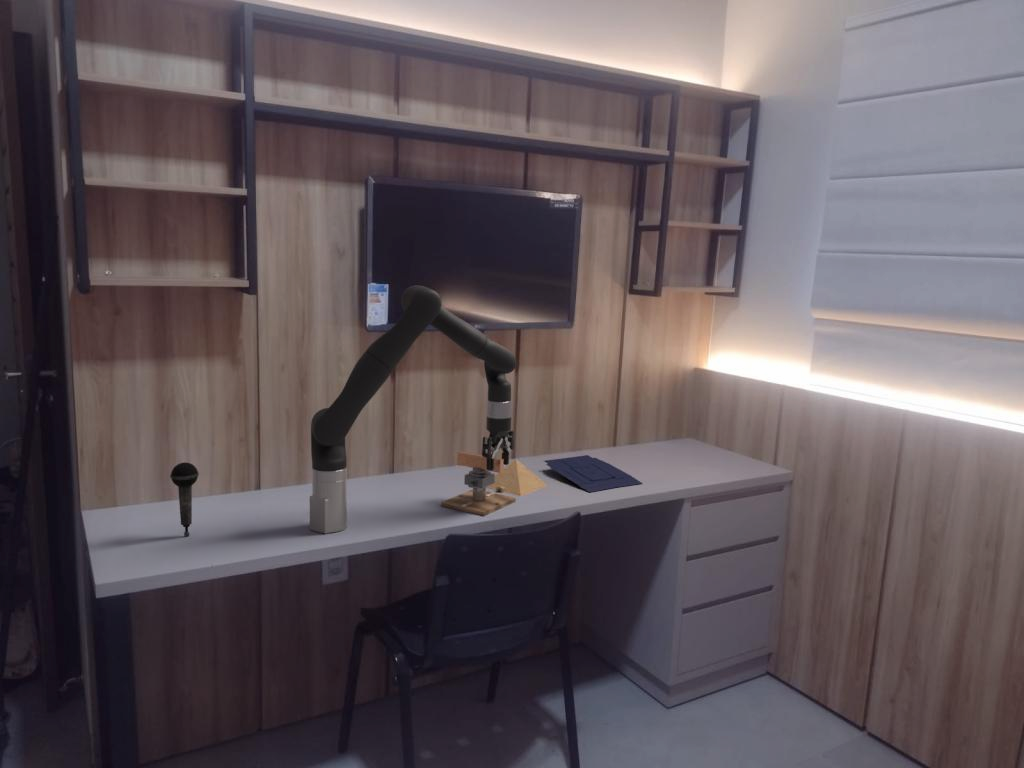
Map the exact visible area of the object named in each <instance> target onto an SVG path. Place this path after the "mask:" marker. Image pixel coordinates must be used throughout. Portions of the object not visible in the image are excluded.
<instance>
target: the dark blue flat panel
mask: <svg viewBox="0 0 1024 768" xmlns="http://www.w3.org/2000/svg"><path fill="white" fill-rule="evenodd" d="M543 462H544V463H545V465H546V466H548V467H549V468H550V469H551V470H553V471H554V472H557V473H558V474H560V475H562V477H564V478H566V479H568V480H570V481H571V482H572V483H574V484H576V485H577V486H579V487H580V488H582V489H584V490H585V491H587V492H589V493H593V492H598V491H603V490H609V489H613V488H619V487H626V486H627V487H628V486H634V485H635V486H636V485H641V484H642V485H643V484H644V483H643V482H641V481H640V480H638V479H636V478H635V477H634V476H632V475H630V474H629V473H627V472H625V471H623V470H621V468H617V467H616V466H614V465H613V464H610V463H609V462H606V461H603V460H601V459H599V458H597V457H592V456H590V455H589V454H585V455H579V456H572V457H571V456H570V457H564V458H554V459H547V460H543Z"/></svg>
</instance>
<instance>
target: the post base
mask: <svg viewBox="0 0 1024 768" xmlns="http://www.w3.org/2000/svg"><path fill="white" fill-rule="evenodd" d="M486 490H487V488H486V487H484V488H479V487H473V488H472V489H471V490H468V491H466V492H463V493H461V494H458V495H456V496H453V497H450V498H449V499H448V498H447V499H446V500H443V501H441V502H440V506H441V507H443V508H448V509H451V510H452V509H454V510H457V511H461V512H466V513H470V514H473V515H480V516H483V517H485V516H487V515H489V514H491V513H494V512H496V511H499V510H500V509H502V508H504V507H506V506H509V505H512V504H513V503H515V502H516V501H517V497H514V496H509V495H505V494H502V493H500V494H499V493H495V492H490V491H486Z"/></svg>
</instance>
